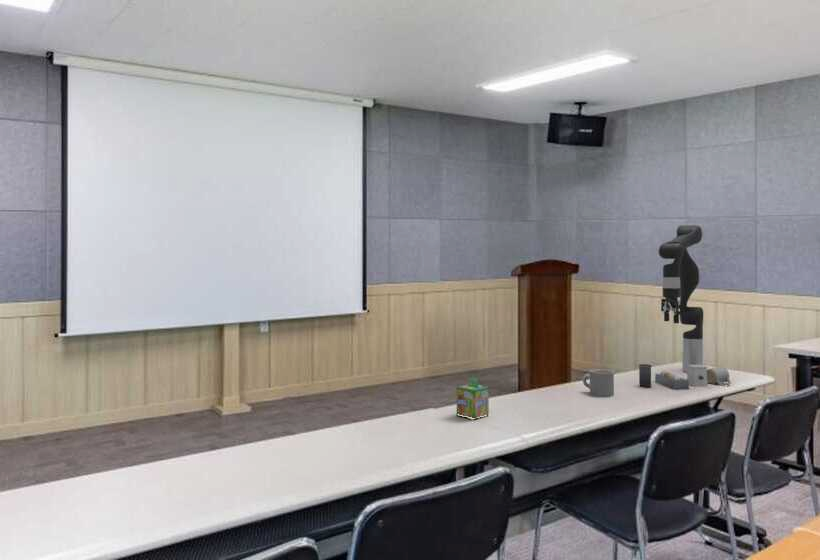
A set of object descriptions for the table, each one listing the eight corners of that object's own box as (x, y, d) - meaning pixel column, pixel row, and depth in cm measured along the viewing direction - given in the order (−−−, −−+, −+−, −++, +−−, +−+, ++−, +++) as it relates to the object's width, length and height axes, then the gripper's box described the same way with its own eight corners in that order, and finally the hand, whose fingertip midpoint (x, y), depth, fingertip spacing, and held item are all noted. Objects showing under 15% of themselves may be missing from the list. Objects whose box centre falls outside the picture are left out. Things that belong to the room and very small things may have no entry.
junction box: (686, 383, 293) (686, 364, 293) (699, 383, 294) (699, 364, 293) (695, 386, 286) (695, 367, 285) (708, 386, 286) (708, 367, 286)
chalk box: (455, 416, 242) (455, 378, 241) (471, 412, 248) (470, 374, 248) (474, 420, 235) (473, 381, 235) (489, 416, 242) (489, 377, 241)
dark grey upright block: (636, 385, 290) (636, 364, 290) (647, 385, 291) (647, 363, 290) (642, 388, 285) (642, 366, 284) (653, 387, 285) (653, 366, 285)
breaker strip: (655, 382, 298) (655, 370, 297) (669, 381, 298) (669, 369, 298) (673, 389, 281) (673, 377, 280) (688, 389, 281) (688, 376, 281)
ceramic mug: (703, 382, 295) (703, 366, 294) (716, 380, 298) (716, 364, 297) (721, 387, 285) (721, 370, 285) (735, 385, 288) (735, 369, 287)
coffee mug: (618, 394, 274) (618, 371, 274) (605, 397, 268) (605, 374, 267) (592, 389, 284) (591, 367, 284) (578, 392, 278) (578, 370, 278)
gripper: (655, 286, 294) (655, 320, 295) (671, 288, 280) (671, 324, 281) (671, 286, 295) (671, 320, 296) (687, 287, 281) (687, 323, 282)
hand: (671, 322), depth 288 cm, fingers open, 8 cm apart
